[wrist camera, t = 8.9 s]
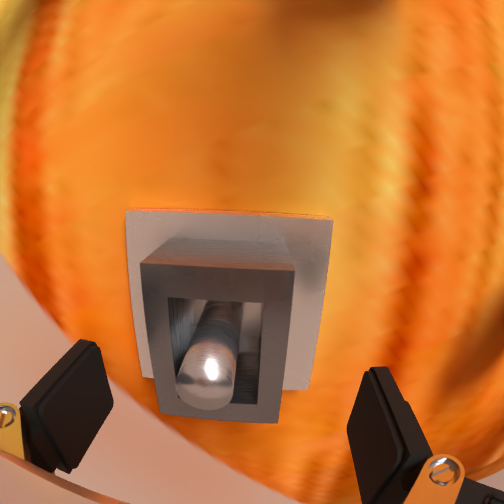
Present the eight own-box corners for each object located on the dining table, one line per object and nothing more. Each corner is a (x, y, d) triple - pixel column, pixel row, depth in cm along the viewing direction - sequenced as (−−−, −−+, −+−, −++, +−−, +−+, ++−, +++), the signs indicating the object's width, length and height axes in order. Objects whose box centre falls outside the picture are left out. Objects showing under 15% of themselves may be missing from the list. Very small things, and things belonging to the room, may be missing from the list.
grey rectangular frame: (170, 237, 14) (139, 262, 10) (286, 242, 14) (295, 270, 10) (178, 366, 16) (160, 413, 13) (275, 372, 16) (277, 423, 12)
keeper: (327, 216, 15) (379, 256, 8) (305, 378, 18) (321, 469, 11) (134, 207, 15) (52, 239, 8) (148, 365, 18) (106, 446, 11)
